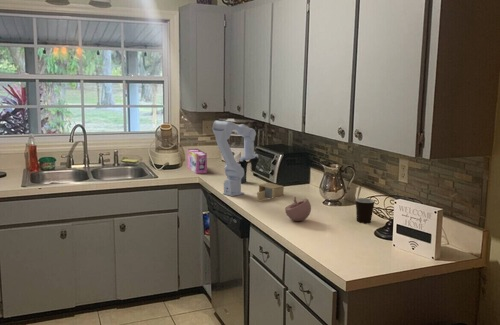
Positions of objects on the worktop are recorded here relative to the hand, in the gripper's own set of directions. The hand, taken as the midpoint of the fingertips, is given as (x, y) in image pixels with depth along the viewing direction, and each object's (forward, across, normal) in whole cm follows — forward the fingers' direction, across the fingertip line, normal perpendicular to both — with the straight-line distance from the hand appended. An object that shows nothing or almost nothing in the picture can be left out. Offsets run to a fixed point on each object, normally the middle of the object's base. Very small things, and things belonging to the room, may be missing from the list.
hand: (249, 171), depth 288 cm
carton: (+10, -1, -17) cm, 20 cm away
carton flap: (+10, -12, -25) cm, 29 cm away
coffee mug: (+10, -8, -81) cm, 82 cm away
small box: (+11, +9, +18) cm, 23 cm away
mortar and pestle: (+9, -31, -58) cm, 66 cm away
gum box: (+12, +15, +62) cm, 65 cm away
